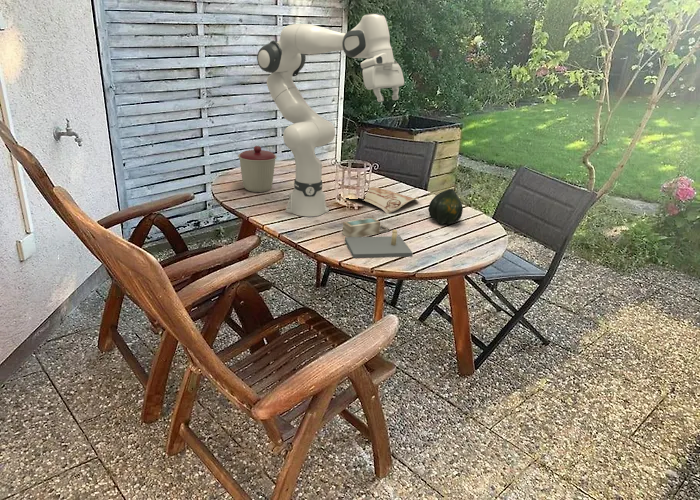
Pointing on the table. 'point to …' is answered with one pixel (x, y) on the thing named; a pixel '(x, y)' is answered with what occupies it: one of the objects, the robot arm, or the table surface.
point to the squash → (446, 207)
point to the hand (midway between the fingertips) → (388, 100)
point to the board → (378, 246)
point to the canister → (257, 169)
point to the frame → (363, 227)
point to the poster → (386, 199)
